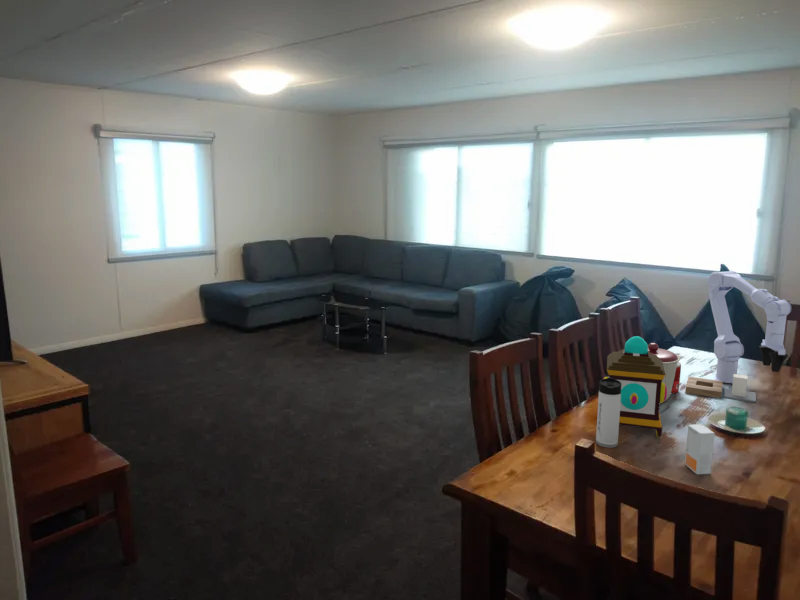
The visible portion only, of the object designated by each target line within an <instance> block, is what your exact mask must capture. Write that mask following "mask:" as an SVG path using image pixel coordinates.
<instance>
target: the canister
mask: <svg viewBox="0 0 800 600" xmlns="http://www.w3.org/2000/svg"><path fill="white" fill-rule="evenodd" d="M647 345H648V351H649V352H650V353H651V354H652V355H657V356H658V357H659V358H660V359H661V360H662V363H663V366H664V370H665V374H666V375H665V377H664V379H663V380H662V382H663V383H664V384H665V385H666V388H667V396H666V399H665V401H664V402H666V401H667V400H669V398H670V396H671V394H672V393H671V390H672V386H673V382H674V377H675V372H676V368H677V362H680V360H681V357H680V356H679V355H677V354H676V353H674V351H670V350H668V349H664V348H659V345H658V344H657V343H656V342H650V343H649V344H647ZM664 402H663V403H664Z"/></svg>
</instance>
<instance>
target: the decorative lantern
mask: <svg viewBox="0 0 800 600" xmlns="http://www.w3.org/2000/svg"><path fill="white" fill-rule="evenodd" d="M648 345H649V344H648V343H647V341H645V339H644V338H643V337H641V336H640V335H639V336H638V335H636V336H632V337H630V338H628V340H627V341H625V344H624V347H623V349H621V350H618V351H612V352H610V353H609V354H608V355H607V361H606V371H607V374H608V376H605V377H603V378H602V379H608V378H613V379H615V380H618V381H620V382H621V402H620V417H619V426H626V427H635V428H643V429H649V430H650V429H651V430H655V433H656V434H655V435H656V437H657V438H661V437H662V434H663V424H662V420H661V415H660V414H661V413H660V405H661V404H663V403H664V401H665V399H666V396H667V388H666V385H665V384H664V383H663V382H662V380H663V379H664V377H665V375H666V374H665V370H664V366H663V363H662V360H661V359H660V358H659V357H658V356H657V355H652V354H651V353H650V352H649V351H648ZM665 402H666V401H665Z"/></svg>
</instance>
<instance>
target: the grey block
mask: <svg viewBox="0 0 800 600" xmlns="http://www.w3.org/2000/svg"><path fill="white" fill-rule="evenodd" d="M748 378H749V377H748V374H738V373H737V374H734V375H733V384H731V385H732V386H731V389H732V395H735V396H742V397H746V391H747V387H748V380H749V379H748Z"/></svg>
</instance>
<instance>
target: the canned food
mask: <svg viewBox="0 0 800 600" xmlns="http://www.w3.org/2000/svg"><path fill="white" fill-rule="evenodd" d="M681 370H682V363H681V362H680V361H678V362H677V368H676V372H675V377H674V382H673V386H672V390H671V394H677V393H679V391H680V382H681V381H680V380H681V373H682V372H681Z"/></svg>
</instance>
